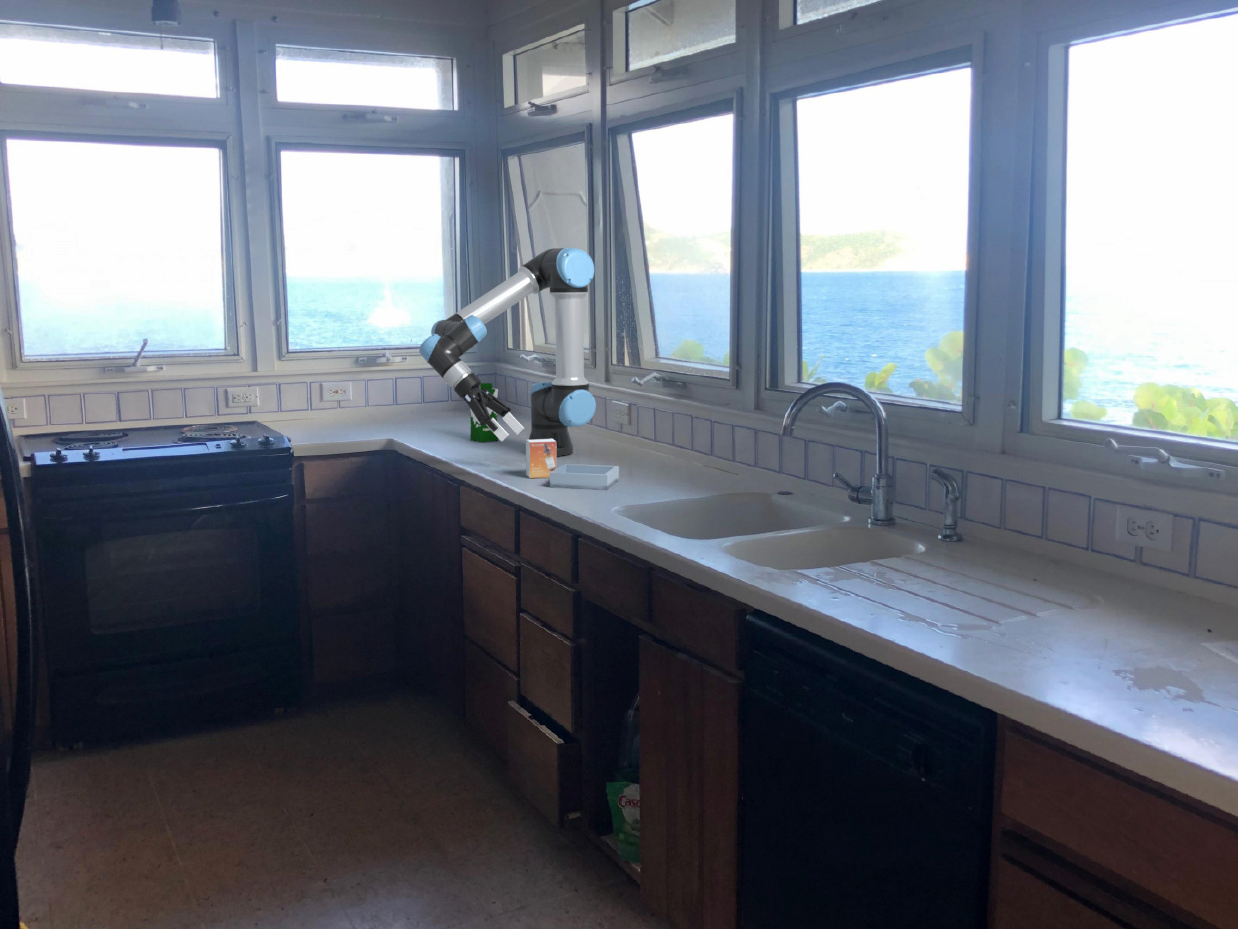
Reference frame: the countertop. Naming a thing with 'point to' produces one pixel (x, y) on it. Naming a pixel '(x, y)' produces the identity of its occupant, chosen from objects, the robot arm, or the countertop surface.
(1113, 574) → the countertop surface
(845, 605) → the countertop surface
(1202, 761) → the countertop surface
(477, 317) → the robot arm
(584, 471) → the tray
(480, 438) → the milk carton
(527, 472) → the small box
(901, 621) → the countertop surface
